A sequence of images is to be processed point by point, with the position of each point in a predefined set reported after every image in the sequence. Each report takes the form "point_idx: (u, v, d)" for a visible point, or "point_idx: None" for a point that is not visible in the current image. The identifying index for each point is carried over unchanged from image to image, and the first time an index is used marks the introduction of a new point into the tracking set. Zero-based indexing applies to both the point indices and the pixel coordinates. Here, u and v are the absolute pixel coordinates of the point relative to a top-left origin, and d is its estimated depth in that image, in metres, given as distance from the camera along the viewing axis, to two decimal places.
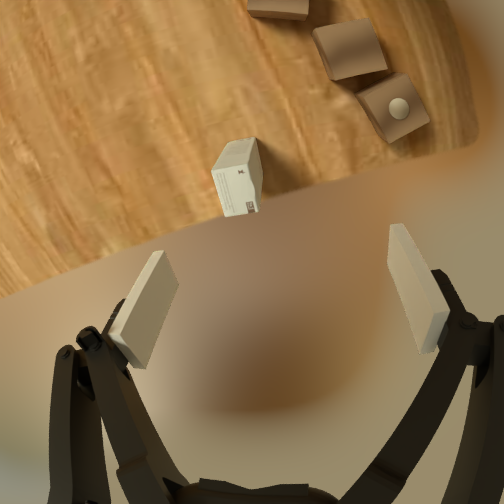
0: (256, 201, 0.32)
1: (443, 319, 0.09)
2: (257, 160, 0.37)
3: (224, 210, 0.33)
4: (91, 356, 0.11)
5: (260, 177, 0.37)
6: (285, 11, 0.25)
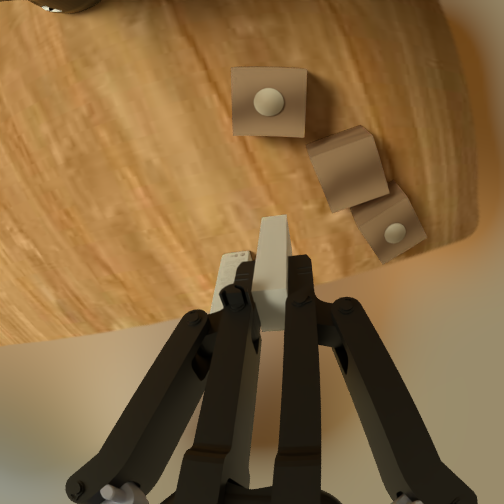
0: None
1: (283, 296, 0.12)
2: None
3: None
4: (228, 315, 0.12)
5: None
6: (277, 135, 0.27)
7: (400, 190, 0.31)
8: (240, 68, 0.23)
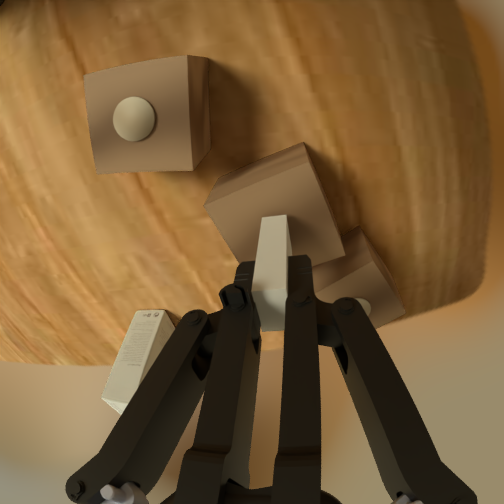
0: None
1: (283, 297, 0.12)
2: None
3: None
4: (228, 315, 0.12)
5: None
6: (153, 169, 0.17)
7: (365, 247, 0.21)
8: (94, 73, 0.13)
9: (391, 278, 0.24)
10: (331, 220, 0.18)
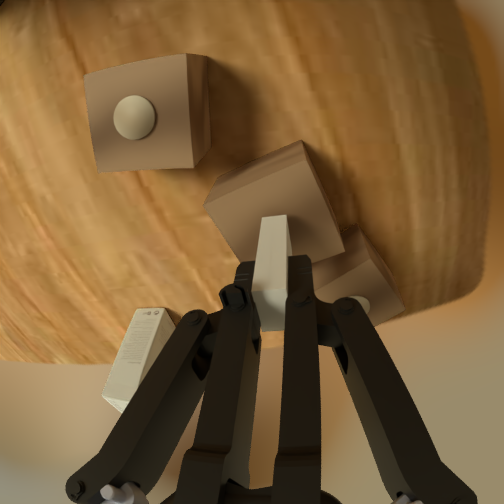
0: None
1: (283, 296, 0.12)
2: None
3: None
4: (228, 315, 0.12)
5: None
6: (154, 167, 0.17)
7: (362, 245, 0.21)
8: (94, 73, 0.13)
9: (390, 275, 0.24)
10: (330, 217, 0.18)
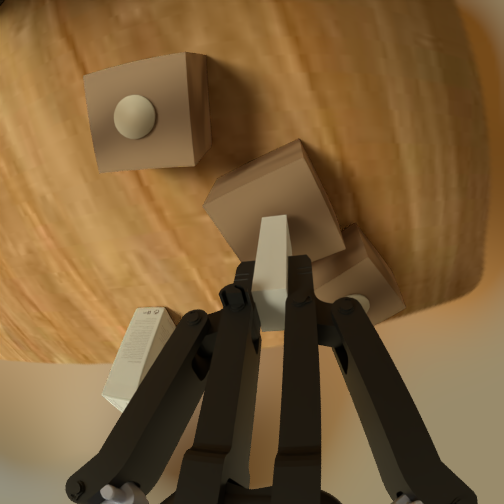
0: None
1: (283, 296, 0.12)
2: None
3: None
4: (228, 315, 0.12)
5: None
6: (155, 166, 0.17)
7: (360, 243, 0.21)
8: (93, 74, 0.13)
9: (390, 273, 0.24)
10: (329, 214, 0.18)
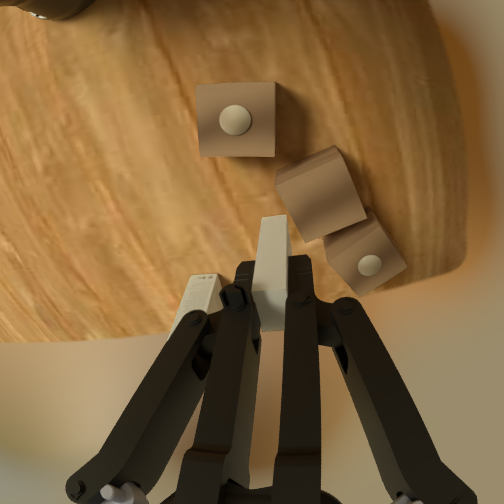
0: None
1: (283, 297, 0.12)
2: (217, 306, 0.38)
3: None
4: (228, 315, 0.12)
5: None
6: (246, 155, 0.26)
7: (374, 218, 0.30)
8: (204, 85, 0.23)
9: (395, 244, 0.33)
10: (357, 194, 0.27)
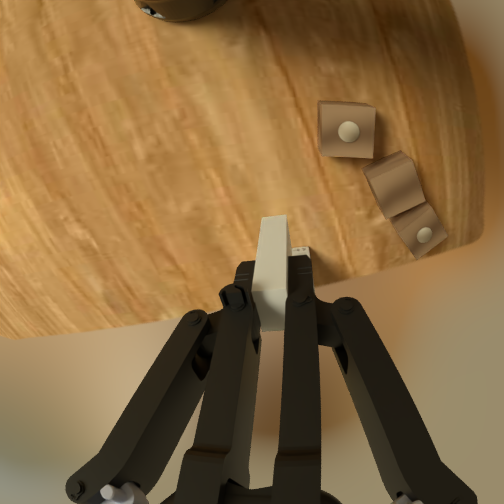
0: None
1: (283, 296, 0.12)
2: None
3: None
4: (228, 315, 0.12)
5: None
6: (354, 156, 0.35)
7: (426, 202, 0.39)
8: (328, 105, 0.32)
9: None
10: (420, 184, 0.36)
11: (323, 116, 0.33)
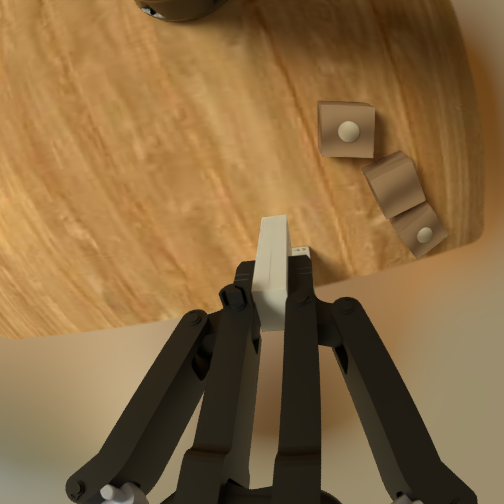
0: None
1: (283, 297, 0.12)
2: None
3: None
4: (228, 315, 0.12)
5: None
6: (354, 156, 0.35)
7: (425, 202, 0.39)
8: (328, 105, 0.32)
9: None
10: (420, 184, 0.36)
11: (323, 116, 0.33)
